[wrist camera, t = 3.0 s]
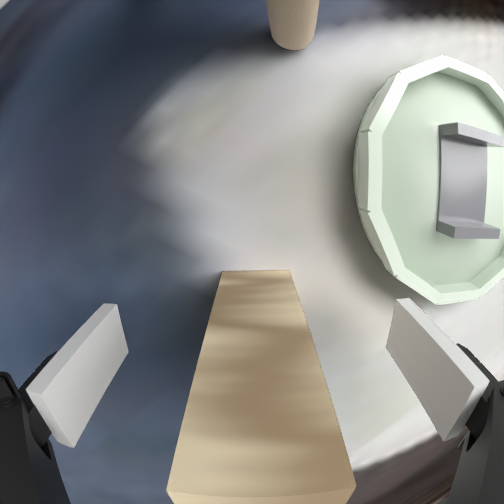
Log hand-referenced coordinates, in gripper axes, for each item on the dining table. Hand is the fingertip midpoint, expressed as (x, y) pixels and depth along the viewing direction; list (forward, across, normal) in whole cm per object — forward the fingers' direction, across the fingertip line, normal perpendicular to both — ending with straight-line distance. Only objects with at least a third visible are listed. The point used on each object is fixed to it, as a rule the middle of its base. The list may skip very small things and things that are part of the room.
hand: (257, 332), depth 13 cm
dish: (+3, +12, +7) cm, 14 cm away
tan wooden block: (+3, 0, 0) cm, 3 cm away
